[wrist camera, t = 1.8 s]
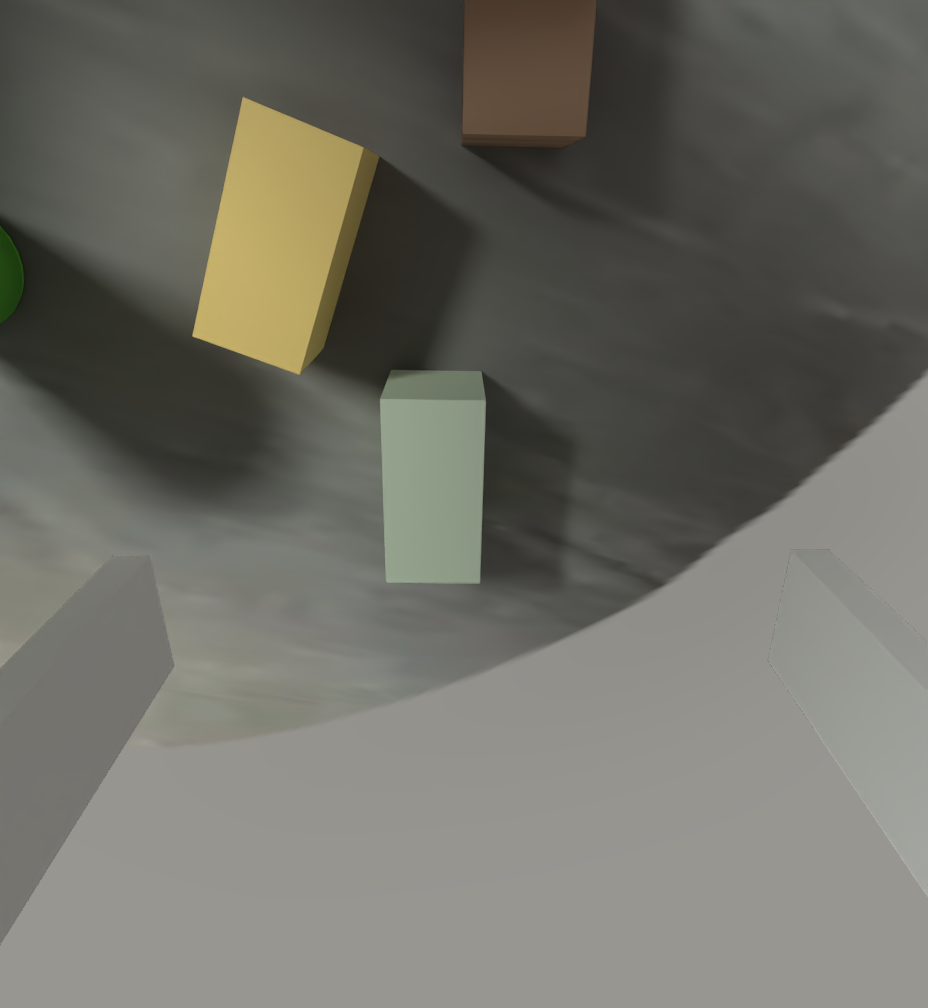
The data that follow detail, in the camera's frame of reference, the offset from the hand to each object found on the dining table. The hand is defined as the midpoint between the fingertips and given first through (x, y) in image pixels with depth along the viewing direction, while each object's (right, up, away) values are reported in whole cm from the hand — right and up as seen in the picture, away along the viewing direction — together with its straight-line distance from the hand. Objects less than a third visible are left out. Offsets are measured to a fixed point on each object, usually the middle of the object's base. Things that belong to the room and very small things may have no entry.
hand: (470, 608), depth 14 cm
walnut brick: (+2, +20, +11) cm, 23 cm away
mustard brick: (-7, +13, +14) cm, 20 cm away
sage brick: (-1, +4, +18) cm, 18 cm away
